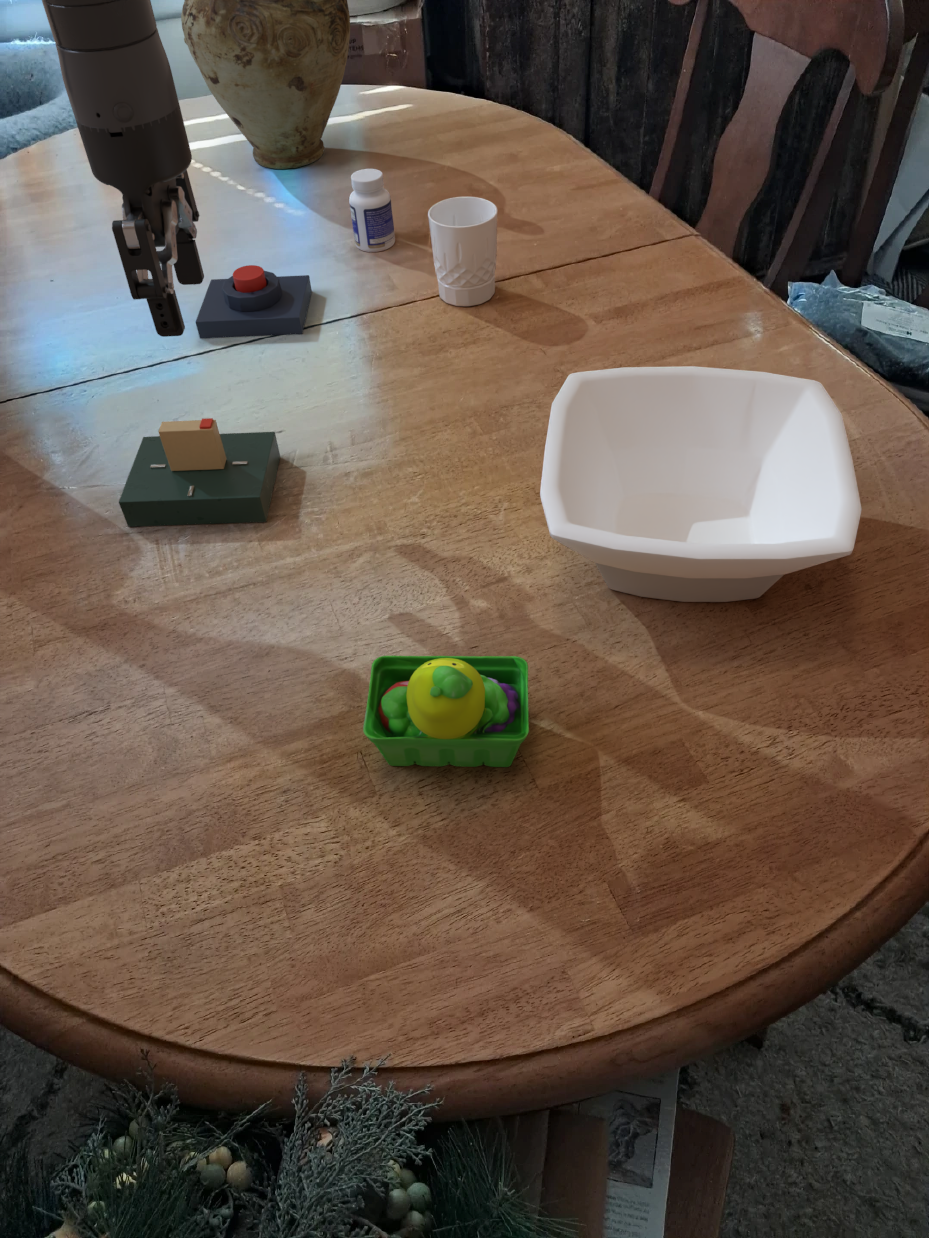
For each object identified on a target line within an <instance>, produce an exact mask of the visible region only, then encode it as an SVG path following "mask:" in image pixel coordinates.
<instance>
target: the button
mask: <svg viewBox="0 0 929 1238" xmlns="http://www.w3.org/2000/svg"><path fill="white" fill-rule="evenodd" d="M264 271H265V270H264V268H263V267H261V266H260V265H257V264H256V265H255V264H248V265H243V266H240V267H237V268H236V269H235V270H234V271H233V272H232V276H233V279H234V283H235V288H236V290H237V291H238V292H242V293H250V292H255V291H259V290H262V289H263V288H264V287H266V285H267V284H266V279H265V274H264Z"/></svg>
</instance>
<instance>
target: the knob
mask: <svg viewBox="0 0 929 1238" xmlns="http://www.w3.org/2000/svg"><path fill="white" fill-rule="evenodd" d="M220 434H221V433H220V431H219V426H218V423H217V420H216V419H214V418H213V417H210V418H209V417H207V418H201V419H195V420H172V421H170V420H169V421H168V420H167V421H161V423H160V426H159V429H158V436H160V438H161V441H162V444H163V447H164V450H165V453H166V456H167V459H168V463H169V466H170V469H171V471H186V470H213V469H224V466H225V463H226V455H225V452H224V448H223V444H222V441H221V437H220Z"/></svg>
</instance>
